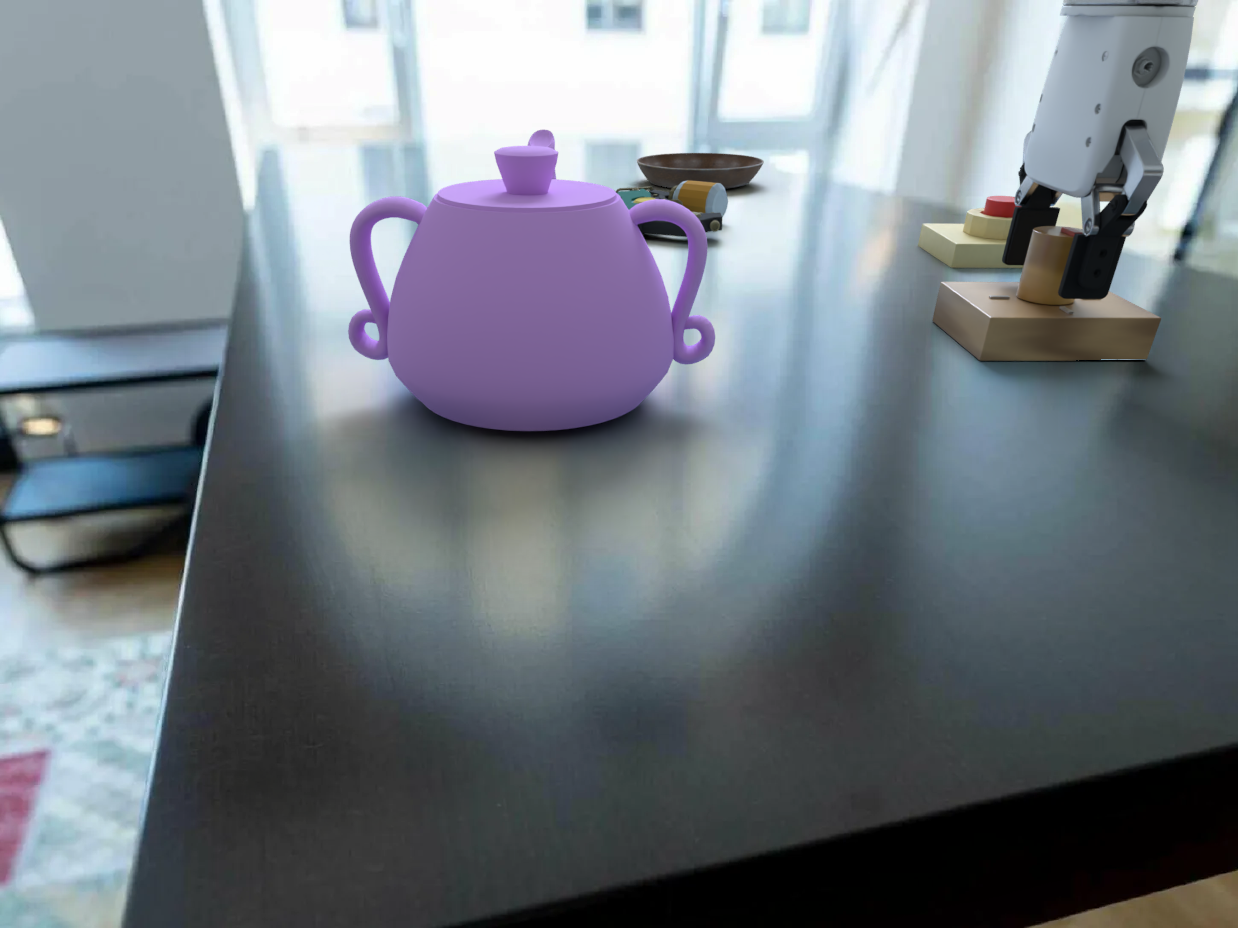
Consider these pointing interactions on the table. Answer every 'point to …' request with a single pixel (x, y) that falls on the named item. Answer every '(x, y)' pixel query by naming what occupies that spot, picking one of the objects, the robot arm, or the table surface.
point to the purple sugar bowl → (529, 298)
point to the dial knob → (1046, 265)
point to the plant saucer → (699, 168)
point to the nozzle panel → (1041, 325)
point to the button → (1000, 206)
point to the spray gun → (694, 195)
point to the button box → (968, 241)
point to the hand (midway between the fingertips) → (1050, 280)
